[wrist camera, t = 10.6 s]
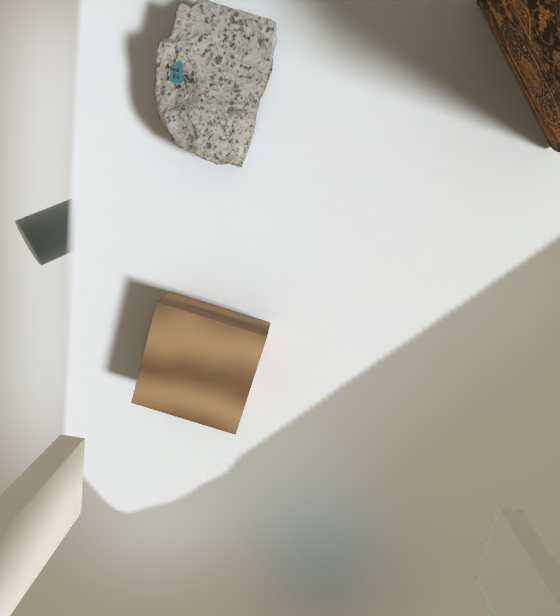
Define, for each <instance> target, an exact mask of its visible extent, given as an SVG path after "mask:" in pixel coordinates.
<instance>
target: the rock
mask: <svg viewBox="0 0 560 616" xmlns="http://www.w3.org/2000/svg"><path fill="white" fill-rule="evenodd" d="M276 40H277V38H276V23H275V22H274V21H272V20H271V19H268V18H262V17H260V16H256V15H253V14H250V13H247V12H244V11H242V10H235V9H232V8H229V7H227V6H223V5H220V4H216V3H214V2H211V1H209V0H197V1H196V2H195V4H194V5H192V6H191V7H190V6H188V5H186V4H184V3H180V4H179V5H178V7H177V9H176V19H175V22H174V25H173V27H172V29H171V32H170V34H169V36H168V37H167V38H164V39H162V40H161V41H160V42H159V43H158V48H157V59H156V75H155V96H156V97H155V103H156V108H157V111H158V115H159V118H160V120H161V122H162V124H163V125H164V126H165V128H166V130H167V131H168V132H169V133H170V134H171V136H172V141H173V142H174V143H175V144H176V145H177V146H178V147H180V148H184V149H186V150H188V151H192V152H193V153H195V154H196V155H197V156H199V157H200V158H202V159H204V160H208V161H211V162H213V163H215V164H221V165H223V164H229V163H231V164H232V165H236V166H238V167H242V164H243V161H244V159H245V157H246V154H247V151H248V148H249V145H250V141H251V139H252V136H253V132H254V128H255V122H256V114H257V110H258V107H259V100H260V98H261V96H262V95H263V93H264V90H265V88H266V85H267V83H268V80H269V76H270V74H271V71H272V63H273V58H272V57H273V52H274V48H275V46H276Z"/></svg>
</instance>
